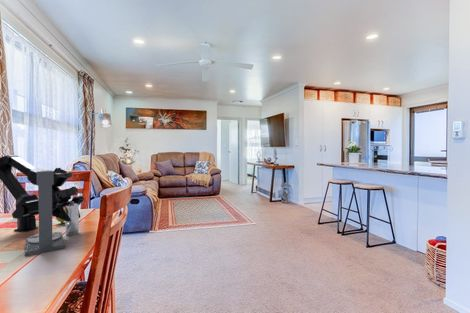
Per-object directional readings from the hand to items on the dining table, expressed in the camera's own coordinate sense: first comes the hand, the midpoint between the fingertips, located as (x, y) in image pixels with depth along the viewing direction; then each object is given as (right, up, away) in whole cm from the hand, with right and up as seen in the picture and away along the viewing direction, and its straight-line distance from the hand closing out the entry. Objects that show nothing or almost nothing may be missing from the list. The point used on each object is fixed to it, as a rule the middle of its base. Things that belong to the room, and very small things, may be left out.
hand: (74, 219), depth 114 cm
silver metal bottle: (-1, -7, +1) cm, 7 cm away
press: (-3, -7, -12) cm, 14 cm away
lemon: (-17, -6, +16) cm, 24 cm away
